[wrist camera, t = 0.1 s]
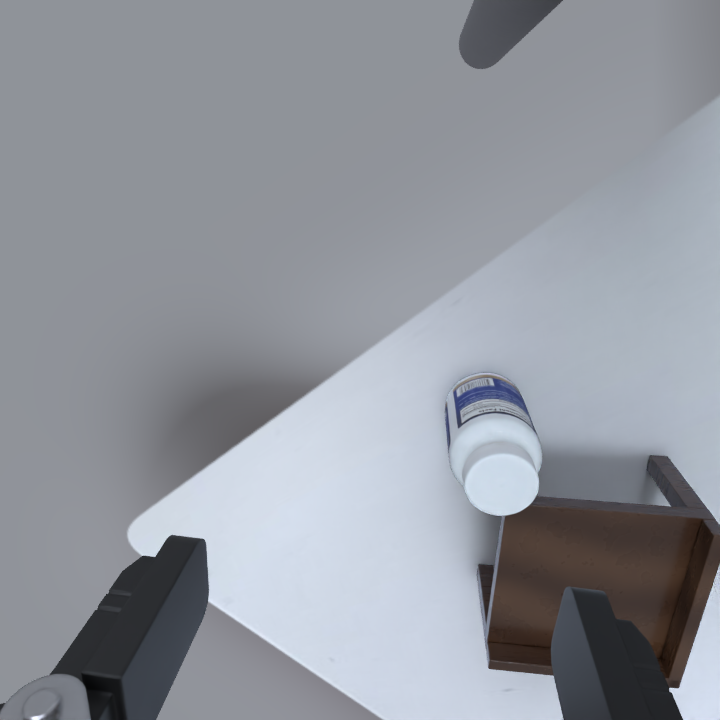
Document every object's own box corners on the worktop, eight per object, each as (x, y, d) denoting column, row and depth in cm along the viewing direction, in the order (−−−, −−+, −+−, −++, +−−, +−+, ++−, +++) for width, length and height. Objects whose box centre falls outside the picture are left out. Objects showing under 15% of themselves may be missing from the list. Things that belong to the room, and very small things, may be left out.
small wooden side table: (493, 444, 40) (510, 518, 33) (668, 456, 39) (729, 536, 32) (476, 575, 45) (488, 669, 37) (632, 589, 44) (679, 689, 36)
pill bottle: (501, 450, 40) (523, 540, 32) (432, 422, 40) (435, 506, 31) (537, 387, 38) (572, 465, 29) (464, 358, 38) (478, 427, 29)
